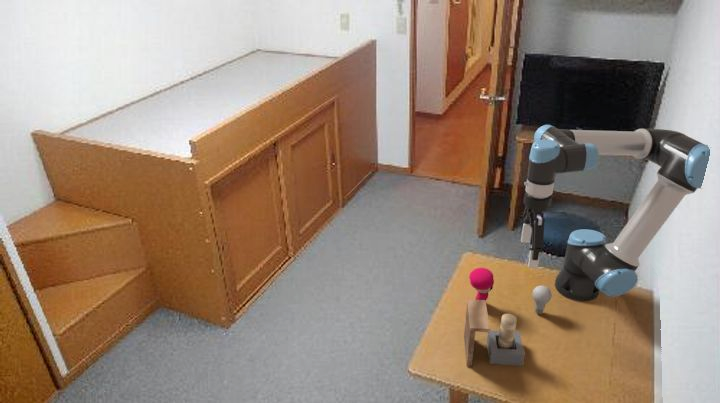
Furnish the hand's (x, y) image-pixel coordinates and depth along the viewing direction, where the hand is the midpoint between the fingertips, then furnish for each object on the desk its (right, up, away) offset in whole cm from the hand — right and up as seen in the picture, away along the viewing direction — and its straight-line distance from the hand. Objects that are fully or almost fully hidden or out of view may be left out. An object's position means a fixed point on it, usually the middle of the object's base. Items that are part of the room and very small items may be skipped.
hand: (528, 254), depth 167 cm
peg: (-7, -31, +3) cm, 32 cm away
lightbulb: (+9, -22, +19) cm, 31 cm away
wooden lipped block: (-17, -31, +4) cm, 35 cm away
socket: (-7, -31, +3) cm, 32 cm away
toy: (-10, -21, +23) cm, 33 cm away
